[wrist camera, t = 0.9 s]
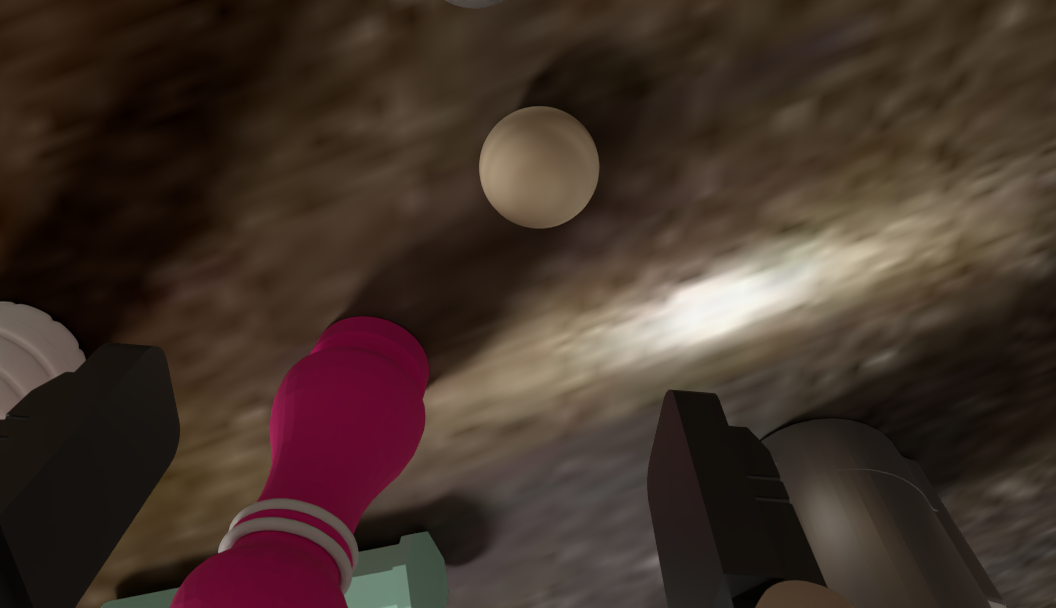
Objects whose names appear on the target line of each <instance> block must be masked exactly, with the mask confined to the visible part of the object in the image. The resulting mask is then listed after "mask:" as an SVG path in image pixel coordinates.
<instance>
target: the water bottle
mask: <svg viewBox="0 0 1056 608" xmlns="http://www.w3.org/2000/svg"><path fill="white" fill-rule="evenodd" d="M85 361H86V359H85V355H84V353H83V351H82V350H81V349H79V344H78V342H77V340H76V338H75V337H74V336H73V335H72V333H71V332H70V331H69V330H68V329H67V328H66V327H65V326H64V325H62V324H61V323H59V322H57V321H53V320H52V318H51V316H50V315H48V314H47V313H45V312H43V311H41V310H39V309H36V308H34V307H31V306H28V305H24V304H16V305H15V304H14V303H13V302H0V420H1V419H2V420H5V418H6V414H7V413H8V412H9V411H10V410H11V409H12V408H13V407H14V406H15V405H16V404H17V403H18V402H20V401H21V400H22V399H23V398H24V397H25V396H26V395H27V394H28V393H29V392H30V391H31V390H33V389H35V388H37V387H39V386H41V385H42V384H44V383H46V382H48V381H50V380H51V379H53V378H55V377H57V376H59V375H61V374H62V373H64V372H75V371H76V370H77V369H78V368H79V367H80V366H81V365H82V364H83V363H84V362H85Z"/></svg>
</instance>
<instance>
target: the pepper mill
mask: <svg viewBox="0 0 1056 608" xmlns="http://www.w3.org/2000/svg"><path fill="white" fill-rule="evenodd" d="M428 379H429V363H428V359H427V356H426V354H425V352H424V350H423V348H422V346H421V345H420V344H419V342H418V341H417V340H416V338H414V337H413V336H412V335H411V334H410V333H409V332H408V331H406V330H405V329H404V328H402V327H400V326H398V325H397V324H395V323H393V322H391V321H388V320H385V319H381V318H377V317H368V316H359V317H351V318H347V319H343V320H341V321H338V322H336V323H334V324H333V325H331V326H330V327H329V328H327V329H326V330H325V331H324V332H323V333H322V335H321V336H320V337H319V339H318V341H317V343H316V344H315V346H314V348H313V350H312V352H311V353H310V355H308V356H307V357H305V358H303V359H302V360H300V361H299V362H298V363H296V364H295V365H294V366H293V367H292V368H291V369H290V370H289V371H288V373H287V374H286V376H285V377H284V379H283V381H282V383H281V385H280V387H279V390H278V392H277V394H276V396H275V399H274V401H273V406H272V412H271V419H270V440H271V449H272V465H271V470H270V475H269V477H268V480H267V482H266V485H265V487H264V489H263V492H262V494H261V496H260V498H259V499H258V501H257V502H256V503H254V504H252V505H250V506H248V507H246V508H244V509H243V510H242V511H241V512H240V513H239V514H238V515H237V516H236V517H235V518H234V520H233V521H232V523H231V525H230V528H229V532H228V533H227V534H226V535H225V536H224V538H223V539H222V541H221V543H220V546H219V550H218V554H215V555H213V556H211V557H209V558H208V559H207V560H205V561H204V562H203V563H201V564H200V565H199V566H198V567H196V568H195V569H194V570H193V571H192V572H191V573H190V574H189V575H188V576H187V577H186V579H185V580H184V582H183V583H182V585H181V586H180V587H179V589H178V590H177V592H176V594H175V596H174V598H173V600H172V602H171V605H170V607H169V608H348V606H347V603H346V600H345V597H344V595H345V594H346V592H347V591H348V589H349V587H350V584H351V581H352V574H353V572H354V570H355V568H356V566H357V563H358V555H359V552H358V547H357V543H356V540H355V538H354V536H353V535H354V532H355V530H356V527H357V525H358V523H359V520H360V518H361V516H362V514H363V513H364V511H365V510H366V508H367V507H368V506H369V504H370V503H371V501H372V500H373V499H374V498H375V497H376V496H377V495H378V494H379V493H380V492H381V491H382V490H383V489H384V488H386V487H387V486H388V485H389V484H390V483H391V482H392V481H393V480H395V479H396V478H397V477H398V476H399V475H400V473H401V472H402V471H403V469H404V468H405V467H406V465H407V464H408V463H409V461H410V460H411V458H412V457H413V456H414V453H415V451H416V449H417V447H418V444H419V442H420V440H421V437H422V434H423V431H424V426H425V407H424V403H423V400H422V399H423V396H424V393H425V390H426V387H427V383H428Z"/></svg>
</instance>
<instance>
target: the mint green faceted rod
mask: <svg viewBox="0 0 1056 608" xmlns="http://www.w3.org/2000/svg"><path fill="white" fill-rule="evenodd" d="M178 589H179V588H174V589H169V590H164V591H159V592H154V593H149V594H144V595H139V596H134V597H128V598H123V599H118V600H113V601H108V602H106V603H105V604H104V605H102V606H101V607H100V608H169V607H170V605H171V602H172V600H173V598H174V596H175V594H176V592H177V590H178ZM448 593H449V590H448V583H447V576H446V569H445V562H444V558H443V556H442V555H441V553H440V551H439V550H438V548H437V546H436V545H435V543H434V541H433V540H432V538H431V536H430V534H429V533H428V531H427V532H421V533H415V534H410V535H405V536H401V540H400V543H399V544H397V545H392V546H387V547H382V548H377V549H372V550H367V551H362V552H359V555H358V563H357V566H356V568H355V570H354V572H353V574H352V581H351V584H350V587H349V589H348V591H347V592H346V594H345V595H344V597H345V600H346V603H347V606H348V608H446V603H447V598H448Z"/></svg>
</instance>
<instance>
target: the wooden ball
mask: <svg viewBox="0 0 1056 608" xmlns="http://www.w3.org/2000/svg"><path fill="white" fill-rule="evenodd" d="M479 172H480V179H481V184H482V187H483V190H484V193H485V195H486V197H487V198H488V200H489V202H490V203H491V204H492V206H493V207H494V208H495V209H496V210H497V211H498V212H499V213H500V214H501V215H502V216H503V217H505V218H506V219H508V220H509V221H511V222H513V223H515V224H518V225H521V226H524V227H528V228H550V227H554V226H558V225H560V224H563V223H565V222H567V221H569V220H570V219H572V218H573V217H575V216H576V215H577V214H578V213H580V212H581V211H582V210H583V209H584V207H585V206H586V205H587V204H588V202H589V200H590V199H591V197H592V195H593V193H594V191H595V189H596V186H597V182H598V176H599V157H598V153H597V149H596V146H595V143H594V141H593V139H592V137H591V135H590V134H589V132H588V131H587V129H586V128H585V127H584V126H583V125H582V124H581V123H580V122H579V121H578V120H577V119H575V118H574V117H573V116H571V115H570V114H568V113H566V112H564V111H562V110H559V109H556V108H552V107H545V106H533V107H527V108H523V109H520V110H517V111H515V112H513V113H511V114H509V115H508V116H506V117H505V118H503V119H502V120H501V121H500V122H499V123H497V125H496V126H495V127H494V128H493V129H492V131H491V132H490V134H489V135H488V137H487V138H486V141H485V143H484V145H483V148H482V151H481V156H480V162H479Z"/></svg>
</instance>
